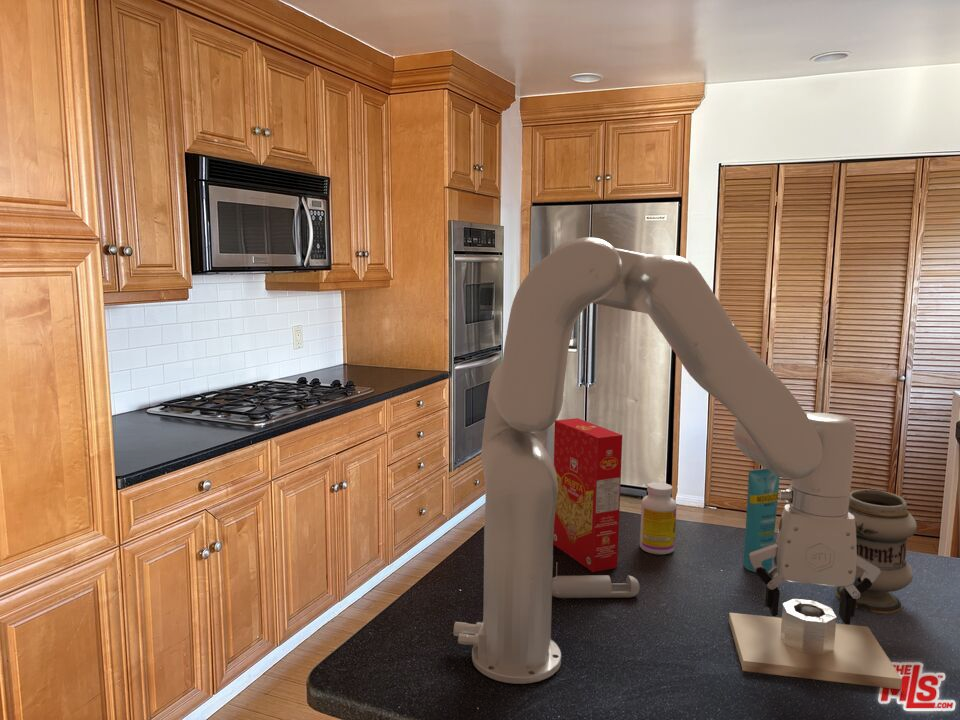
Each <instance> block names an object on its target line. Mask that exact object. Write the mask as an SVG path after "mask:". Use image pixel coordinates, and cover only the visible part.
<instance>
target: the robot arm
mask: <svg viewBox="0 0 960 720" xmlns="http://www.w3.org/2000/svg"><path fill="white" fill-rule="evenodd" d="M592 304H595V305H600V306H604V307H609V308H613V309H618V310H624V311H625V310H626V311H629V312H630V311H631V312H637V313H642V314H647V315H648V316H649V317H650V318H651V320H652V322H653V324H654V325H655V327H656V328H657V329H658V330H659V332H660V333H661V334H662V336H663V338H664V339H665V340H666V341H667V342H666V343H668V346H670V348H671V349H672V351H673V352H674V353H675V355H676V357H677V359H678V360H679V361H680V363H681V364H682V366H683V367H684V370H686V372H687V373H688V375H689V376H690V377H691V378H692V379H693V380H694V381H695V382H696V383H697V384H698V385H699V386H700V387H701V389H703V390H704V391H705V392H707V393H708V394H709V395H711V397H713V398H715V399H716V401H718V402H720V404H721V405H723V406H724V407H725V408H726V409H727V411H729V412H730V413H731V414H732V416H733V417H735V419H736V420H737V421H736V422H735V424H734V426H733V432H732V434H733V441H734V443H735V446H736V447H737V448H738V450H739V451H740V452H741V453H742V454H743V455H744V456H746V457H747V458H748V459H750V460H752V461H753V462H754V463H756V464H758V465H760V466H761V467H763V468H764V469H765V468H766V469H768V470H769V471H771V472H772V473H774V474H775V475H777V476H779V477H780V478H782V479H786V480H791V482H790V483H791V484H789V487H788V489H785V490H782V489H781V490H779V492H778V498H779V500H781V501H785V502H787V504H785V505H784V506H783V508H782V509H783V510H782V513H781V516H780V518H779V523H778V527H777V532H776V539H775V543H774V544H773V545H770V546H768V547H765V548H762V549H759V550H756V551H753V552H751V553H749V558H750V561H751V563H752V565H753V567H754V569H755V571H756V572H755V573H756V574H755V575H757V576H758V578H759V579H760V580H761V581H762V582H763V583H764V584H765V596H764V605H765V608H768V610H769V613H770V615H771V617H777V616H778V613H779V606H780V605H779V603H780V594H781V593H780V590H779V586H780V585H782V584H783V582H785V581H786V582H790V583H791V582H792V583H796V584H797V583H799V584H807V585H815V586H826V587H836V588H837V587H844V589H842V590H841V595H840V599H839V605H838V616H839V617H840V619H841V620H842V624H846V625H851V620H852V618H855V615H856V614H855V613H856V608H855V607H856V599H857V598H859V597H860V594H861V593H863V592H864V591H866V590H867V589H868V588H870V587H871V586H872V582H873V581H875V579H876V578H877V576H878V575H879V574H880V572H881V570H880V569H879V568H878V566H877V565H875V564H874V563H872V562H870V561H868V560H867V559H865V558H863V557H862V556H860V555H858V554H857V540H856V525H855V518H854V516H853V515H852V514H851V513H850V512H848V510H849V500H850V492H851V491H852V490H851V489H852V488H851V486H852V480H853V479H852V478H853V477H852V476H853V467H854V458H855V449H856V440H857V439H856V437H857V426H856V424H855V423H854V421H853V420H852V419H851V418H848V417H846V416H844V415H840V414H835V413H828V412H826V413H825V412H808V413H806V412H805V411H804V409H803V407H802V406H801V404H800V403H799V402H798V400H797V398H796V397H795V396H794V394H793V393H792V392H791V390H790V389H789V388H788V387H787V386H786V385H785V384H784V383H783V381H782V380H781V379H780V378H779V377H778V376H777V375H776V373H774V372H773V370H772V369H771V368H770V367H769V366H768V364H767V363H765V361H764V360H763V358H761V356H760V355H759V354H758V353H757V352H756V351H755V350H754V349H753V348H752V347H751V346H750V345H749V344H748V342H747V341H746V340H745V339H744V337H743V335H742V334H741V333H740V331H739V330H738V328H737V326H736V325H735V323H734V322H733V321H732V319H731V318H730V316H729V315H728V313H727V312H726V310H725V309H724V307H723V305H722V304H721V302H720V300H718V298H717V296H716V295H715V293H714V292H713V290H712V288H711V287H710V286H709V284H708V283H707V281H706V280H705V278H704V277H703V275H702V273H701V272H700V271H699V270H698V268H697V267H696V265H694V264H693V263H692V262H691V261H689V260H688V259H687V258H685V257H682V256H679V255H675V254H674V255H673V254H672V255H671V254H650V253H649V254H647V253H641V252H637V251H636V252H635V251H630V250H626V249H621V248H616V247H614V245H612V244H611V243H609V242H608V241H606V240H604V239H602V238H598V237H592V236H591V237H590V236H589V237H580V238H573V239H569V240H567V241H564V242H562V243H560V244H559V245H557V247H555V248H553V250H552V252H551V253H549V254H548V255H546V256H545V257H544V258H542V260H540V261H539V262H538V263H537V264H536V265H535V266H534V267H533V268H532V269H531V270H530V271H529V272H528V274H527V275H526V276H525V277H524V279H523V280H522V282H521V283H520V285H519V287H518V289H517V290H516V293H515V296H514V297H513V301H512V305H511V308H510V312H509V318H508V323H507V330H506V335H505V341H504V346H503V347H504V349H503V353H502V354H503V355H502V361H501V362H500V363H499V364H498V365H497V366H496V367H495V368H494V371H493V373H492V375H491V378H490V381H489V385H488V392H487V400H486V408H485V415H484V423H483V433H482V440H481V441H482V442H481V454H480V455H481V456H480V458H481V466H482V470H483V471H482V472H483V478H484V488H485V493H484V494H485V503H484V504H485V506H484V508H485V509H484V525H483V526H484V528H483V529H484V530H483V531H484V532H483V533H484V534H483V618H482V622H480V621H476V623H475V624H474V623H468V622H462V621H455V622H454V625H453V636H454V637H455V636H456V637H458V638H457V643H458V644H461V645H472V648H471V649H472V650H471V661H472V663H473V666H474V667H475V668H476V669H477V671H479V672H480V673H481V674H482V675H484V676H486V677H488V678H490V679H492V680H494V681H496V682H497V681H498V682H502V683H506V684H515V685H517V684H519V685H524V684H532V683H537V682H541V681H543V680H545V679H549V678H551V677H552V676H554V674H555V673H557V672H558V670H559V669H560V668H561V664H562V650H561V648H560V647H559V646H558V644H557V643H556V642H555V641H554V640H552V605H553V603H552V600H553V596H552V578H553V569H554V567H553V566H554V544H553V534H554V519H555V511H556V503H557V495H558V481H557V474H556V470H555V467H554V461H553V459H552V458H551V456H550V454H549V452H548V451H547V448H546V443H547V434H548V429H549V428H550V427H552V425H553V424H555V421H556V420H558V417H559V416H560V413H561V411H562V407H563V403H564V392H565V390H564V389H565V382H566V381H565V380H566V371H567V364H568V354H569V349H570V345H571V344H570V343H571V339H572V334H573V330H574V326H575V325H576V321H577V319H578V318H579V316H580V315H581V314H582V312H583V311H584V310H586V308H587V307H588V306H590V305H592ZM769 558H772V559H773V564H774V566H772V568H771V570H770V571H769V572H767V571H766V569H765V568H764V567H763V566H762V564H761V563H762V561H763V560H766V559H769ZM856 565H857V566H859V567H861V568H862V569H864V570H865V572H864V573H863V575H862V576H860V577H858V578H857V579H856V580H855V577H856Z"/></svg>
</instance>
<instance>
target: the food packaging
mask: <svg viewBox="0 0 960 720" xmlns="http://www.w3.org/2000/svg"><path fill="white" fill-rule="evenodd" d="M622 450H623V434H621V433H619V432H615V431H613V430H611V429H607V428H605V427H602V426H599V425H598V424H594V423H591V422H589V421H586V420H584V419H582V418H577V417H576V418H575V417H574V418H565V419H556V421H555V422H554V441H553V464H554V467H555V470H556V474H557V481H558V495H557V503H556V511H555V519H554V534H553V546H555V547H557V548H558V549H559V550H561V551H562V550H563V553H565V554H567V555H568V556H569V557H571V559H573V560H574V561H577V562H578V563H579V564H580V565H582V566H584V567H585V568H587V570H589V571H591V572H592V573H596V572H602V571H606V570H610V569H616V568H618V557H619V555H618V554H619V532H620V530H619V528H620V527H619V526H620V509H621V508H620V507H621V506H620V505H621V480H622V478H621V477H622V456H623V451H622Z"/></svg>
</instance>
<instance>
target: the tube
mask: <svg viewBox="0 0 960 720" xmlns="http://www.w3.org/2000/svg"><path fill="white" fill-rule="evenodd" d="M780 478H781V477H779V476H777V475H775V474H774V473H772V472H771V471H769V470H768V469H766V468H765V467H764V468H759V469H750V470H749V471H748V480H747V481H748V483H747V485H748V486H747V501H746V503H747V504H746V515H745V516H746V518H745V519H746V520H745V534H744V535H745V536H744V547H743V551H744V552H743V567H744V568H745V569H746V570H747V571H750V572H753V573H756V571H755V569H754V567H753V565H752V563H751V561H750V558H749V553H751V552H753V551H756V550H759V549H762V548H765V547H768V546H770V545H773V544H775V543H774V542H775V541H774V540H775V531H776V519H777V511H778V510H777V509H778V500H779V499H778V498H779V492H780V490H779V488H780ZM761 564H762V566H763V567H764V568H765V569H766V571H767V572H769V571H770V570H771V569H772V568H773V557H772V558H769V559H766V560H763V561H762V563H761Z"/></svg>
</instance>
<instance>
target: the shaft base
mask: <svg viewBox="0 0 960 720" xmlns="http://www.w3.org/2000/svg"><path fill="white" fill-rule="evenodd" d="M728 614H729V616H728V623H729V627H730V631H731V634H732V637H733V641H734V644H735V648H736V652H737V655H738V660H739V662H740V666H741V670H742V672H749V673H758V674H765V675H767V674H768V675H775V676H784V677H793V678H801V679H811V680H819V681H826V682H834V683H842V684H843V683H844V684H851V685H861V686H870V687H879V688H885V689H894V690H895V689H896V690H901V689H902V682H903V678H902V677H901V675H900V673H899V672H898V671H897V669H896V668H895V666H894V664H893V663H892V662H891V660H890V658H889V657H888V656H887V653H886V652H885V650H884V649H883V647H882V646H881V644H880V643H879V641H878V640H877V638H876V637H875V635H874V633H872V631H871V629H870V628H869V627H868V626H865V625H856V624H850V625H846V624H845V623H836V630H835V642H834V651H832V652H830V653H828V654H826V655H824V656H818V655H809V654H801V653H799V652H797V651H795V650H793V649H791V648H789V647H787V646H785V645H784V643H783V640H782V638H781V622H782V617H777V616H766V615H758V614H748V613H737V612H729V613H728ZM801 614H802V615H805V616H809V617H820V615H821V611H820V610H819V609H817V608H814V607H810V606H804V607H802V610H801Z"/></svg>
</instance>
